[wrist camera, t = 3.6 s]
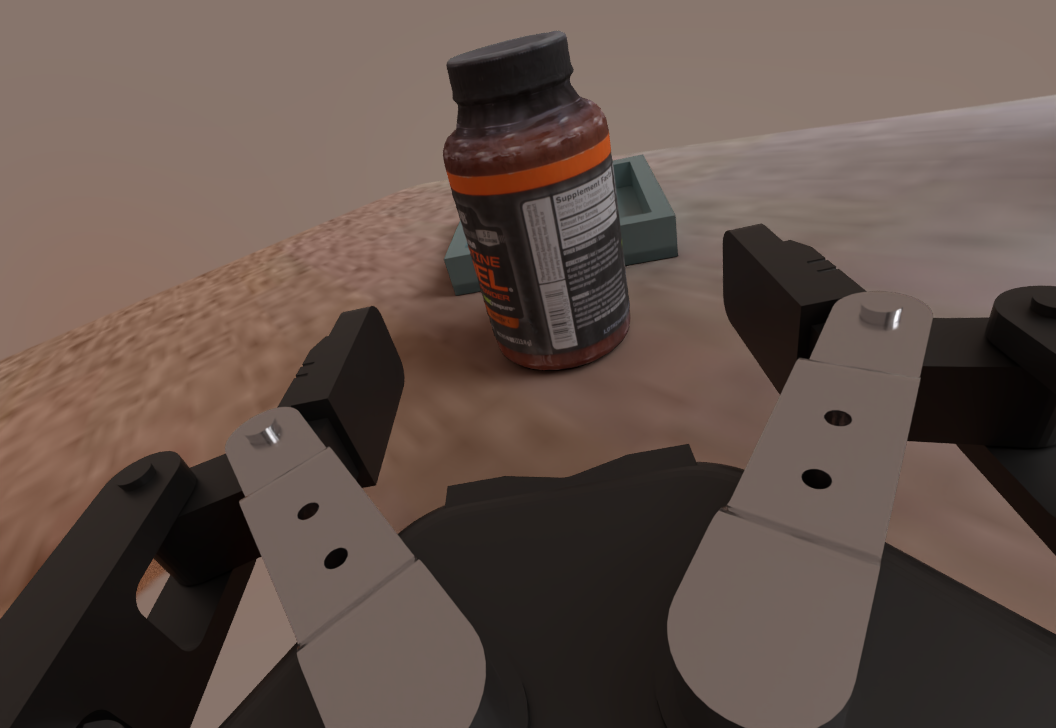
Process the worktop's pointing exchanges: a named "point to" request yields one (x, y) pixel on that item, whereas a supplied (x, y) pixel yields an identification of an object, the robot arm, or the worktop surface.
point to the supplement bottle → (538, 203)
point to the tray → (640, 220)
